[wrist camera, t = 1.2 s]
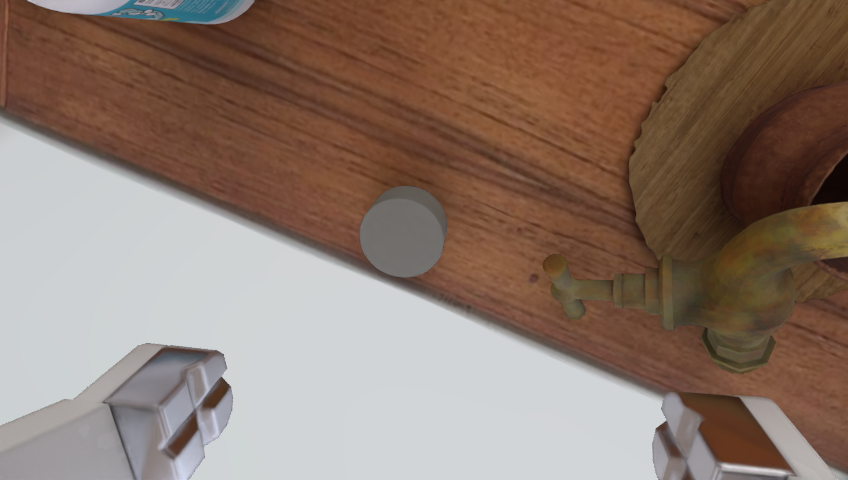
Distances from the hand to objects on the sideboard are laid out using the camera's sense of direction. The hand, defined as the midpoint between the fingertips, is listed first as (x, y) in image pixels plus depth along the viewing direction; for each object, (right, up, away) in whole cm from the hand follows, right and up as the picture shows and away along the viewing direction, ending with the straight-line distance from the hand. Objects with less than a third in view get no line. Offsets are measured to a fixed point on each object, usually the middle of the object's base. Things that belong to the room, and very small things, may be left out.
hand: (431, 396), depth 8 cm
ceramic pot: (+20, +7, +16) cm, 27 cm away
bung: (-1, +4, +20) cm, 21 cm away
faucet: (+21, 0, +12) cm, 24 cm away
